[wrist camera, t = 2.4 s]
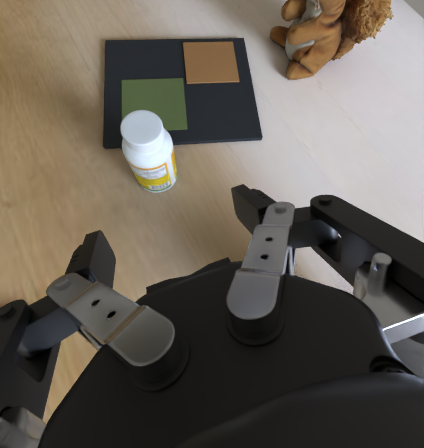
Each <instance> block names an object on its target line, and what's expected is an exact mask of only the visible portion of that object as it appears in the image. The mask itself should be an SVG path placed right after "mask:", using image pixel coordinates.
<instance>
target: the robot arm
mask: <svg viewBox="0 0 424 448" xmlns="http://www.w3.org/2000/svg"><path fill="white" fill-rule="evenodd" d="M231 191H232V197H233V203H234V208H235V213H236V215H237V218H238V219H239V220H240V221H241V223H242V224H243V225H244V226H245V227H246V228H247V229H248V231H249V232H250V233H251V234H252V235H253V236H252V238H251V241H250V244H249V247H248V250H247V252H246V255H245V258H244V261H239V262H231V261H230V259H229V258H228V257H227V258H225V259H222V260H219V261H216V262H214V263H211V264H208V265H207V266H205V267H203V268H202V269H200V270H198V271H196V272H195V273H193V274H191V275H189V276H184V277H179V278H173V279H168V280H165V281H162V282H159V283H157V284H154V285H151V286H148V287H146V290H147V294H146V295H144V296H142V297H141V298H140V299H138V300H137V301H136V302H133V301H131V300H130V299H128V298H126V297H125V296H123V295H121V294H120V293H118V292H116V291H115V290H113V281H114V272H115V264H116V259H115V255H114V252H113V250H112V248H111V247H110V245H109V243H108V241H107V239H106V237H105V236H104V234H103V232H102V231H101V230H99V231H95V232H92V233H89V234H86V236H85V239H84V242H83V244H82V245H80V246H79V247H78V248H77V249H76V250H75V251H74V253H73V255H72V259H71V260H70V263H69V265H68V267H67V270H66V272H65V275H63V276H61V277H59V278H58V279H56V280H55V281H53V282H52V283H51V284H50V285H49V287H48V288H47V290H46V294H47V296H46V297H44V298H42V299H40V300H38V301H37V302H35V303H33V304H31V305H28V304H27V303H26V302H25V301H24V300H15V301H12V302H10V303H8V304H6V305H4V306H3V307H1V308H0V448H424V378H422V377H419V376H417V375H416V374H415V373H413V372H412V371H411V370H409V369H408V368H407V367H406V366H405V365H404V364H403V362H402V361H401V360H400V359H399V357H398V356H397V354H396V353H395V352H394V350H393V349H392V347H391V345H390V344H392V343H395V342H398V341H400V340H403V339H405V338H410V339H411V340H413V341H415V342H417V343H420V344H423V345H424V243H423V242H421V241H419V240H417V239H416V238H414V237H412V236H410V235H408V234H406V233H404V232H402V231H400V230H399V229H397V228H395V227H393V226H391V225H389V224H387V223H385V222H384V221H382V220H380V219H378V218H376V217H374V216H372V215H370V214H369V213H367V212H365V211H363V210H361V209H359V208H357V207H355V206H353V205H352V204H350V203H348V202H346V201H344V200H342V199H340V198H338V197H336V196H333V195H319V196H316V197H314V198H312V199H311V201H310V207H303V208H295V207H294V205H293V204H291V203H289V202H276V201H274V200H273V199H271V198H270V197H268V196H267V195H266V194H264V193H263V192H262V191H260V190H256V189H251V190H250V189H249V188H248V187H246V186H245V185H244V184H242V185H239V186H236V187H233V188H232V189H231ZM338 234H340V236H341V238H340V237H339V236H338ZM310 246H311V248H312V249H313V250H314V251H315V252H316V253H317V254H319V255H320V256H321V257H322V258H323V259H324V260H325V261H326V262H327V263H328V264H329V265H330V266H331V267H332V268H334V269H335V270H336V271H337V272H338V273H339V274H340V275H341V276H342V277H343V278H344V279H345V280H346V281H347V282H349V283H350V284H351V285H352V286H353V287H354V289H353V294H354V295H352V294H350V293H348V292H345V291H343V290H340V289H337V288H333V287H330V286H327V285H324V284H320V283H317V282H314V281H310V280H307V279H304V278H301V277H297V276H294V266H295V257H296V248H302V247H310ZM76 331H78V333H79V334H80V335H81V336H82V337H84V338H85V339H86V340H87V341H88V342H89V343H90V344H91V345H92V346H93V347H94V348H95V349H96V350H97V351H98V352H97V353H96V354H95V356H94V357H93V359H92V360H91V361H90V363H89V364H88V365H87V367H86V368H85V370H84V371H83V372H82V374H81V375H80V377H79V378H78V379H77V381H76V382H75V383H74V385H73V386H72V388H71V389H70V390H69V392H68V393H67V395H66V396H65V397H64V399H63V400H62V401H61V403H60V404H59V406H58V407H57V408H56V410H55V411H54V413H53V414H52V416H51V417H50V419H49V421H48V423H47V424H46V423H45V422H44V421H43V420H42V419H43V415H44V410H45V406H46V402H47V398H48V394H49V390H50V386H51V381H52V377H53V373H54V369H55V365H56V361H57V357H58V352H59V348H60V344H61V341H62V340H63V339H65V338H67V337H68V336H70V335H71V334H73V333H74V332H76ZM16 352H18V353H19V354H20V355H21V356H20V359H19V361H18V364H17V363H16Z"/></svg>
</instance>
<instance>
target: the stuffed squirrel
mask: <svg viewBox="0 0 424 448" xmlns="http://www.w3.org/2000/svg"><path fill="white" fill-rule="evenodd" d="M390 6H391V0H288V1H287V2H286V3H285V4H284V6H283V8H282V11H281V16H282V18H283V19H284V20H285V21H291V20H294V21H293V23H292V25H291V26H290V27H289V28H286V27H282V26H277V27H274V28H273V29H271V31H270V38H271V39H272V40H273V41H275V42H276V43H278V44H280V45H282V46H284V47H285V50H286V54H287V56H288V58H289V59H290V60H291V62H290V64H289V66H288V69H287V73H286V77H287V78H288V79H289V80H295V79H301V78H306V77H310V76H313V75H314V74H315V73H317V72H318V71H319V70H320V69H321V68H322V67H323V66H324V65H325V64H326V63H327V62H328V61H330V60H331V59H332V60H335V59H337V58H338V59H340V58H341V57H342V56H343V55H344V54H346V53H348V52H349V51H350V50H351V49H352V48H353V46H354V44H355V43H358V44H359V43H361V41H362V40H366V38H368V37H373V38H374V39H375V36H376V34H377V32H379V31H380V28H381V27H382V26H383V25H385V24H384V23H385V21H386V19H387V18H390V19H392V17H393V15H392V16H391V14H392V11H391V12H390V10H391V8H390Z"/></svg>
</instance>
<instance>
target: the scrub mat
mask: <svg viewBox="0 0 424 448" xmlns="http://www.w3.org/2000/svg"><path fill="white" fill-rule="evenodd" d="M137 110H147V111H150V112H153V113H155V114H156V115H157V116H158V117H159V118H160V119H161V121H162V124H163V128H164V129H165V130H166V131H167V132H168V133H169V134H170V136H171V138H172V142H173V145H180V144H199V143H217V142H235V141H253V140H262V133H261V127H260V122H259V117H258V111H257V106H256V101H255V95H254V90H253V85H252V79H251V74H250V69H249V63H248V58H247V53H246V47H245V42H244V38H223V39H163V40H106V42H105V86H104V130H103V147H104V148H105V149H108V148H122V140H123V137H122V134H121V129H120V127H121V123H122V120H123V119H124V118H125V116H127V115H128V114H129V113H131V112H133V111H137Z"/></svg>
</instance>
